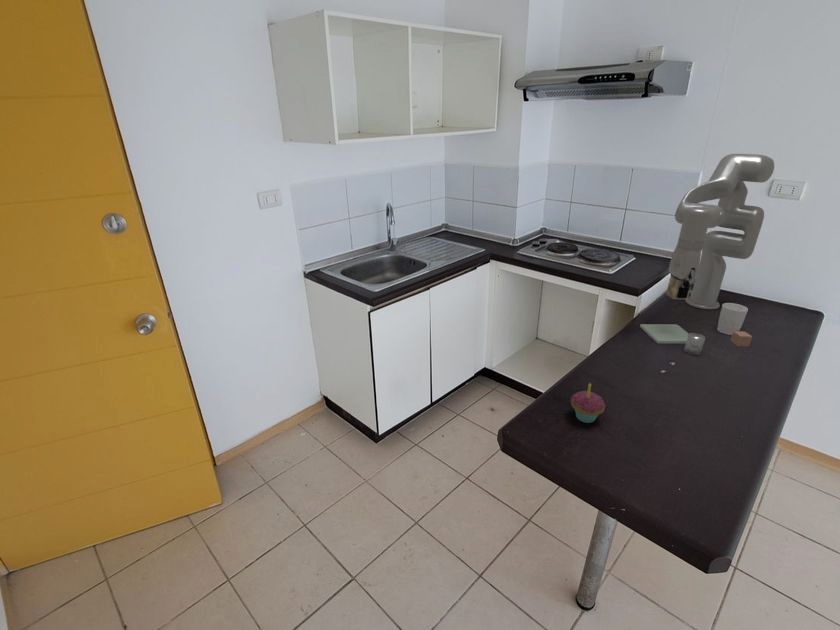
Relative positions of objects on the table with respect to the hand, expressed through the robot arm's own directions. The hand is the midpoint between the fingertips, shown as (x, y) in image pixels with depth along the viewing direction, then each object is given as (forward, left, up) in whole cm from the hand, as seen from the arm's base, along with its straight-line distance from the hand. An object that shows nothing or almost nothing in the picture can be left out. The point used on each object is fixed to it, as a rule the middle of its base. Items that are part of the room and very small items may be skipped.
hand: (677, 294), depth 156 cm
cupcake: (+50, -47, -16) cm, 70 cm away
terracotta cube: (+7, +22, -16) cm, 28 cm away
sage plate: (0, 0, -16) cm, 16 cm away
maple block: (0, 0, -1) cm, 1 cm away
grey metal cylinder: (+13, +2, -16) cm, 21 cm away
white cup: (-3, +24, -16) cm, 29 cm away
